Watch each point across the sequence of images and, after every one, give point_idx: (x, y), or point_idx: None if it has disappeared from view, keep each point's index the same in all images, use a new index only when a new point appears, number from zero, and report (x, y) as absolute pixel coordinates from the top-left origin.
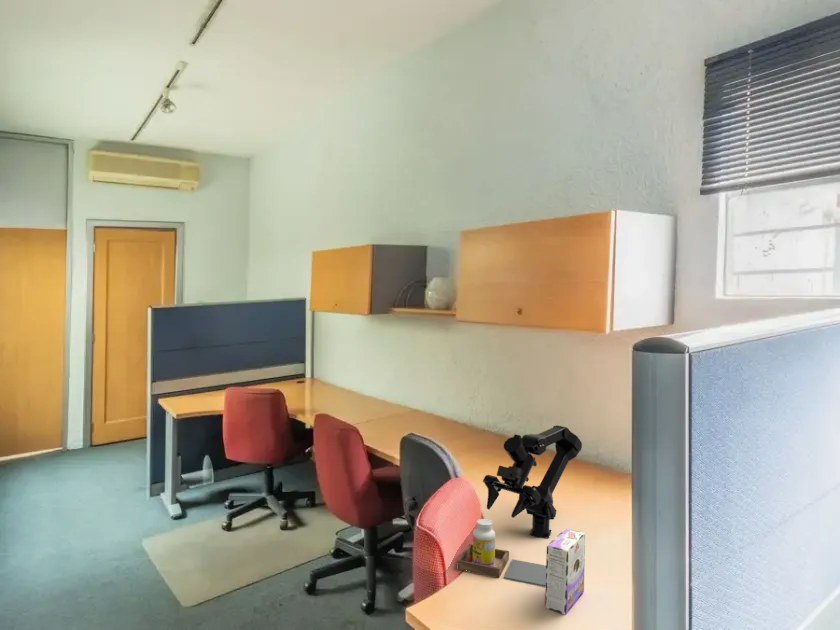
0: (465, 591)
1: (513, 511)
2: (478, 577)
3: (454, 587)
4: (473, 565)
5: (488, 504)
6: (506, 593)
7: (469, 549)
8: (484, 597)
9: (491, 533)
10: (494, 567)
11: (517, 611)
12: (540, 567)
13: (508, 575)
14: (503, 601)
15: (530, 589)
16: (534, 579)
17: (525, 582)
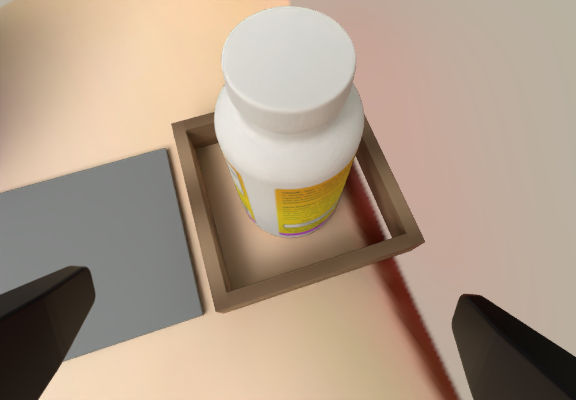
0: (231, 17)
1: (31, 293)
2: None
3: None
4: None
5: (494, 318)
6: (117, 77)
7: (392, 211)
8: (167, 24)
9: (224, 96)
10: (195, 123)
11: (52, 23)
12: None
13: (153, 168)
14: (108, 39)
15: (50, 146)
16: (49, 207)
17: (80, 173)
